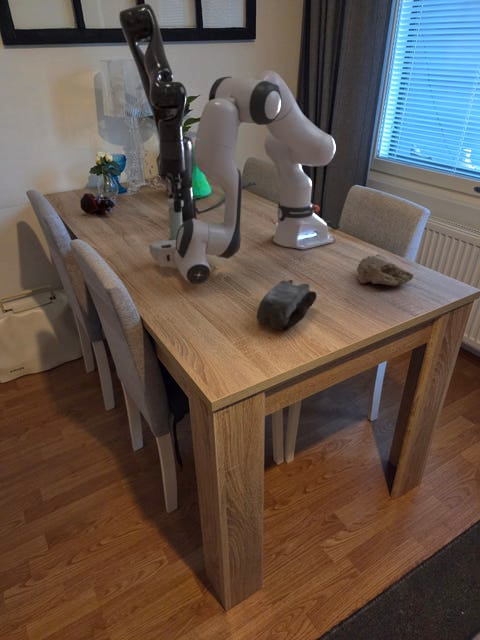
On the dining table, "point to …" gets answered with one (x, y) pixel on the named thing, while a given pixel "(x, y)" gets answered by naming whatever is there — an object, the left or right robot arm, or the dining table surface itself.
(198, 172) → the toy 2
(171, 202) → the lid
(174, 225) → the bottle
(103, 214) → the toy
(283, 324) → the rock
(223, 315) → the dining table surface
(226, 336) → the dining table surface
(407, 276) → the artifact
